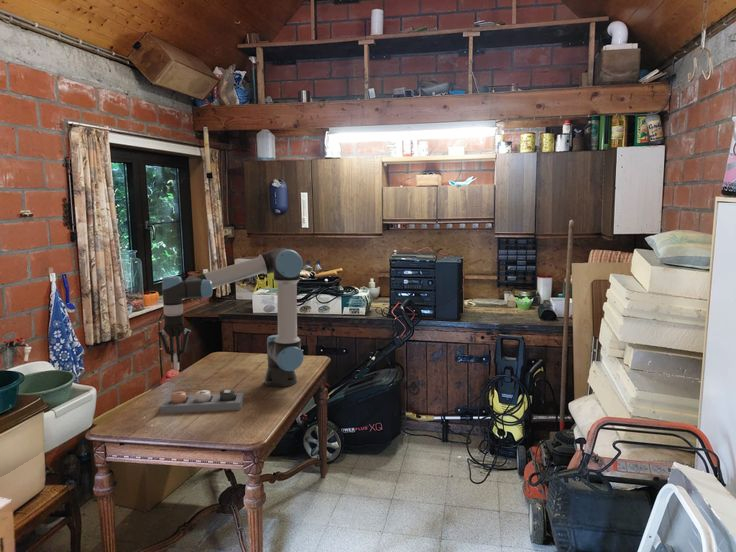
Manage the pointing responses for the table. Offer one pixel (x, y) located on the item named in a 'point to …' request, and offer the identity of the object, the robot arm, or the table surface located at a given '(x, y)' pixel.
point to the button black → (227, 395)
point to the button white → (203, 396)
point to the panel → (202, 404)
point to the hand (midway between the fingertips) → (176, 369)
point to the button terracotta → (178, 397)
